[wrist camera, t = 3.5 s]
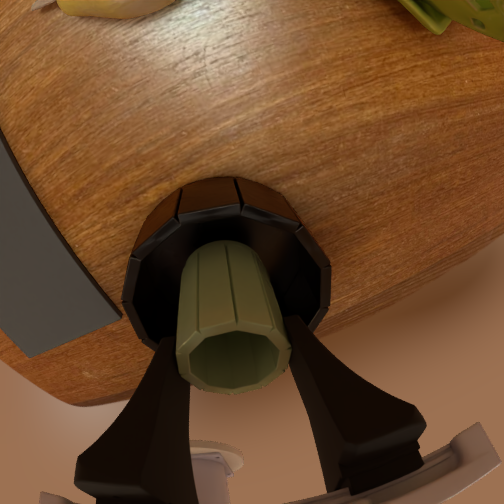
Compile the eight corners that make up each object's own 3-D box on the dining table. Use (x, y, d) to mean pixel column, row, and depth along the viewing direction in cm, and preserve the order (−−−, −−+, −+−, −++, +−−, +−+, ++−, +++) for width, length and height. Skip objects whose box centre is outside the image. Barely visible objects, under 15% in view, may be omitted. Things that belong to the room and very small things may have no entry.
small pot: (272, 295, 17) (299, 378, 12) (197, 316, 17) (199, 402, 12) (255, 229, 15) (282, 307, 10) (169, 253, 15) (155, 339, 10)
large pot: (307, 307, 22) (327, 353, 18) (166, 333, 21) (161, 382, 17) (301, 163, 16) (331, 188, 12) (117, 197, 16) (92, 232, 12)
